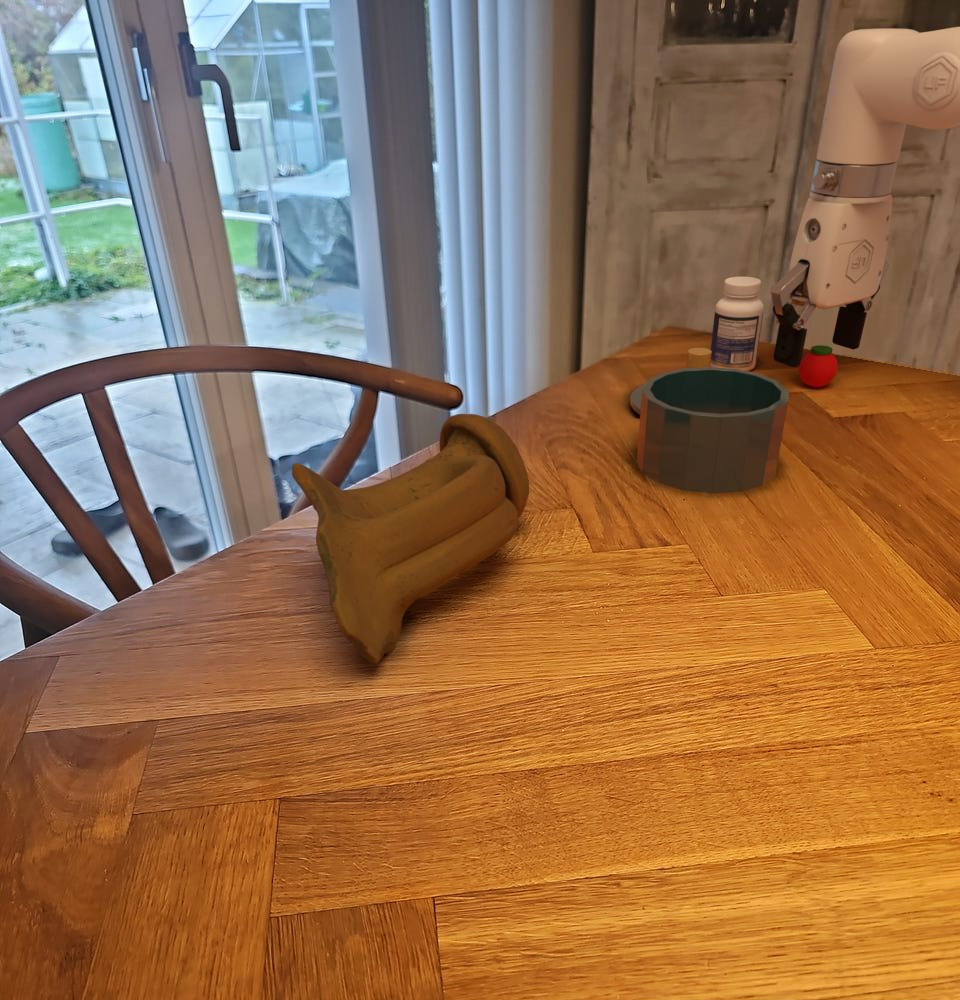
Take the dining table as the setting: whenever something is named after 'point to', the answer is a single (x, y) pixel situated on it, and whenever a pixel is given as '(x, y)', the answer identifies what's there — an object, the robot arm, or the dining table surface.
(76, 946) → the dining table surface
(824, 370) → the toy tomato
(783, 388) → the pot
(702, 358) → the lid
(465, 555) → the brown fluted pedestal
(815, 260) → the robot arm
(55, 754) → the dining table surface
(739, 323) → the pill bottle
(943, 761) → the dining table surface
